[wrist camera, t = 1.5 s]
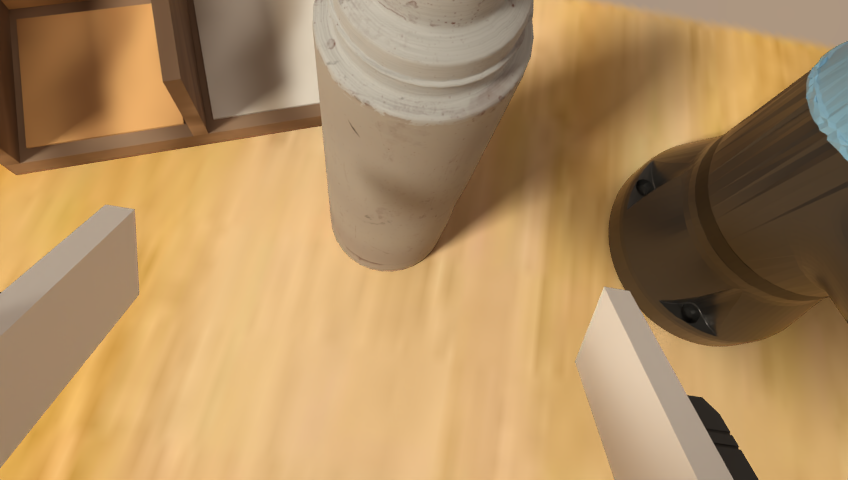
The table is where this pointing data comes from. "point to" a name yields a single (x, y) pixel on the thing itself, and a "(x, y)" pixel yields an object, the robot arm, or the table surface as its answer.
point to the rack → (149, 76)
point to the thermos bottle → (410, 112)
